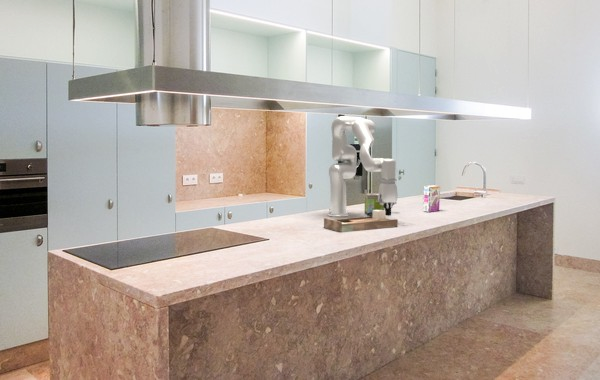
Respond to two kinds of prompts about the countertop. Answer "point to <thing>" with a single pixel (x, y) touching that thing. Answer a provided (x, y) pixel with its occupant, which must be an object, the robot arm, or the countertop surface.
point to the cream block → (379, 214)
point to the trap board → (358, 224)
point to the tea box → (372, 204)
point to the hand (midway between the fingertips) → (388, 215)
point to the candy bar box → (431, 198)
